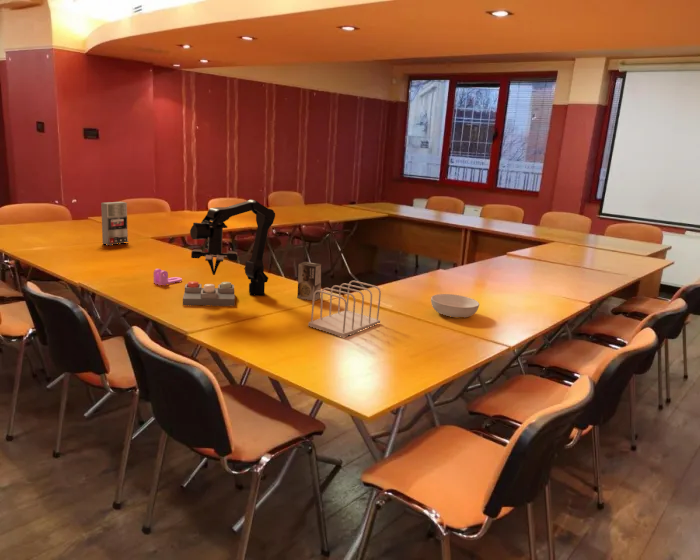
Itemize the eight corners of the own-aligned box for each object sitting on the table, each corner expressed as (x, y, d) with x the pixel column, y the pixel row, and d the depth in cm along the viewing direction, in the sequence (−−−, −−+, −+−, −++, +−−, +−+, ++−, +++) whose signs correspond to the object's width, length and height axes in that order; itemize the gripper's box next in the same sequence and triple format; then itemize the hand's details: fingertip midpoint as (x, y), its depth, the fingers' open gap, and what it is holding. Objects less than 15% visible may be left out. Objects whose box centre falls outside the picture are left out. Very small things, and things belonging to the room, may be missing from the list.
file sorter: (343, 338, 208) (346, 298, 205) (307, 327, 218) (309, 288, 214) (380, 324, 228) (383, 287, 224) (346, 314, 238) (348, 278, 234)
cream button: (214, 290, 240) (214, 284, 239) (214, 293, 236) (214, 286, 235) (204, 290, 239) (204, 283, 238) (203, 293, 235) (203, 286, 234)
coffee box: (320, 298, 258) (322, 264, 254) (314, 301, 252) (316, 266, 248) (303, 294, 262) (305, 261, 258) (296, 297, 256) (298, 263, 252)
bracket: (161, 286, 259) (161, 271, 257) (153, 283, 262) (153, 269, 260) (184, 281, 269) (184, 267, 268) (176, 279, 272) (176, 265, 271)
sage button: (231, 288, 250) (231, 281, 250) (231, 291, 246) (231, 284, 245) (221, 288, 249) (221, 281, 249) (220, 291, 245) (221, 284, 245)
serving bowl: (473, 325, 235) (475, 310, 233) (424, 317, 242) (426, 301, 240) (480, 312, 254) (482, 298, 252) (434, 305, 261) (436, 291, 259)
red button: (198, 287, 247) (198, 281, 247) (198, 290, 243) (198, 284, 242) (188, 287, 246) (188, 281, 246) (187, 290, 242) (187, 283, 241)
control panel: (233, 294, 253) (234, 284, 252) (234, 305, 237) (234, 294, 236) (185, 294, 249) (185, 283, 247) (182, 305, 232) (182, 294, 231)
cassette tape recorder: (108, 246, 333) (107, 204, 327) (102, 244, 336) (100, 202, 330) (128, 243, 344) (127, 202, 338) (122, 242, 347) (121, 201, 341)
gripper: (237, 236, 245) (236, 271, 248) (193, 234, 241) (192, 269, 244) (238, 241, 234) (236, 277, 238) (191, 238, 230) (190, 275, 234)
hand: (213, 274), depth 239 cm, fingers closed
